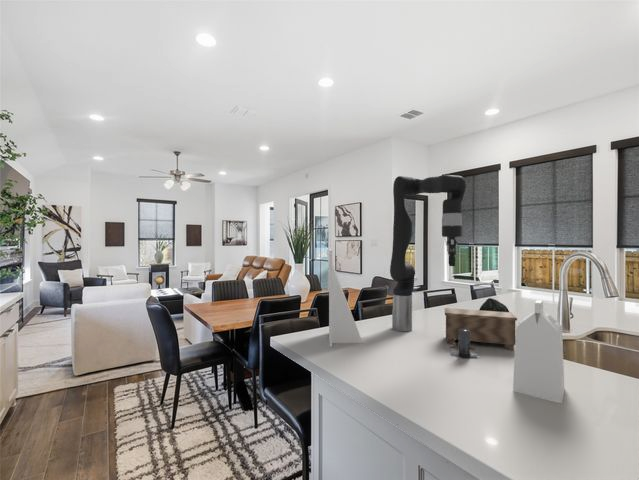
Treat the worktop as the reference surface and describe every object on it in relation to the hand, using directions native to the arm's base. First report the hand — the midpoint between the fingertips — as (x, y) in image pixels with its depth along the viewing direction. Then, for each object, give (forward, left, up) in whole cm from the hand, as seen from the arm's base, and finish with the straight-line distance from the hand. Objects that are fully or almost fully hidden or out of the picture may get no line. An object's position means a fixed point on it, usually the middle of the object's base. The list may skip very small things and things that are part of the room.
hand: (451, 265), depth 132 cm
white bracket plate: (-44, -1, -34) cm, 56 cm away
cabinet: (+11, +14, -34) cm, 38 cm away
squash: (+22, +50, -34) cm, 65 cm away
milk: (+23, -29, -34) cm, 50 cm away
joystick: (+4, -2, -34) cm, 34 cm away
